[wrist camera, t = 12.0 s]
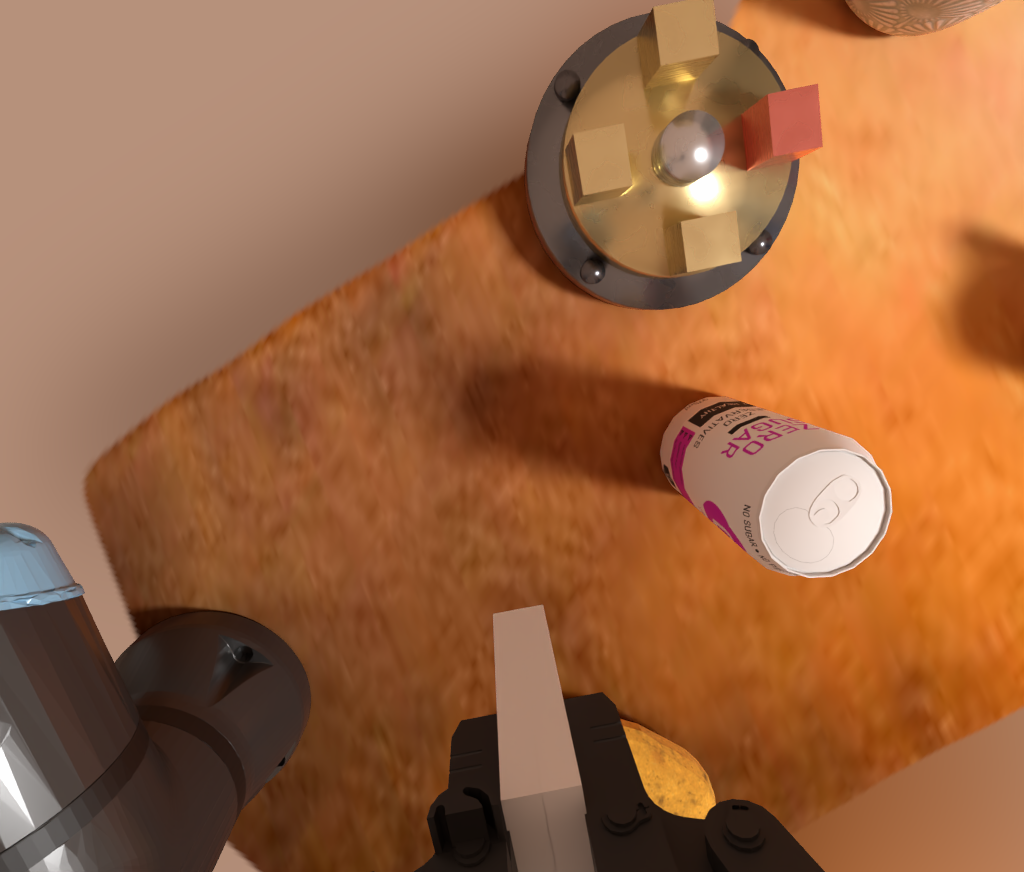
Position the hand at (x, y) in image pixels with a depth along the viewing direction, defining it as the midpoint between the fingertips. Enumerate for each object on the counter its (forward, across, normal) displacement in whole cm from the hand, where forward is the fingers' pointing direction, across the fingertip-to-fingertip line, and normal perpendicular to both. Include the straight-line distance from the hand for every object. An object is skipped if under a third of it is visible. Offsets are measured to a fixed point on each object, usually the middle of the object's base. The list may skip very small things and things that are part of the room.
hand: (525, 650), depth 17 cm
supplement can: (+27, +16, -3) cm, 31 cm away
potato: (+27, +6, -28) cm, 39 cm away
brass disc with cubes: (+24, +14, +17) cm, 32 cm away
